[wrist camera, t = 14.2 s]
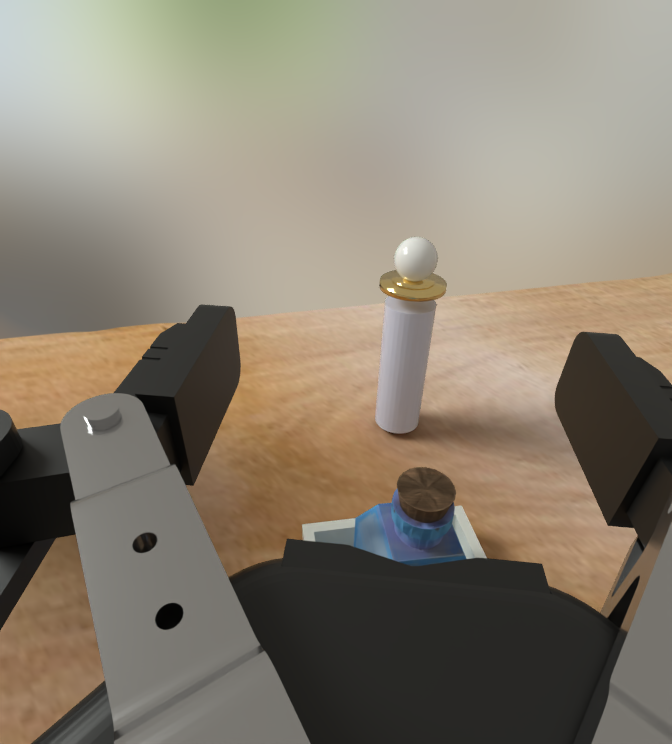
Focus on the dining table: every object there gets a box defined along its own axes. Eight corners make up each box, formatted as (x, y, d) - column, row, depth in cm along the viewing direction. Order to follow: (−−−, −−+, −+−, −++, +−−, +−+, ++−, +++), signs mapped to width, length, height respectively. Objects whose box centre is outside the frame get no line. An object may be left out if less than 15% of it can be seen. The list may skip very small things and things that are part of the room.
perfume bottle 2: (433, 564, 35) (460, 444, 28) (463, 650, 30) (504, 529, 23) (351, 574, 34) (359, 453, 28) (368, 664, 29) (382, 542, 22)
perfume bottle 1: (423, 446, 47) (456, 251, 36) (366, 439, 48) (381, 246, 36) (423, 410, 52) (451, 229, 41) (371, 405, 52) (385, 225, 41)
